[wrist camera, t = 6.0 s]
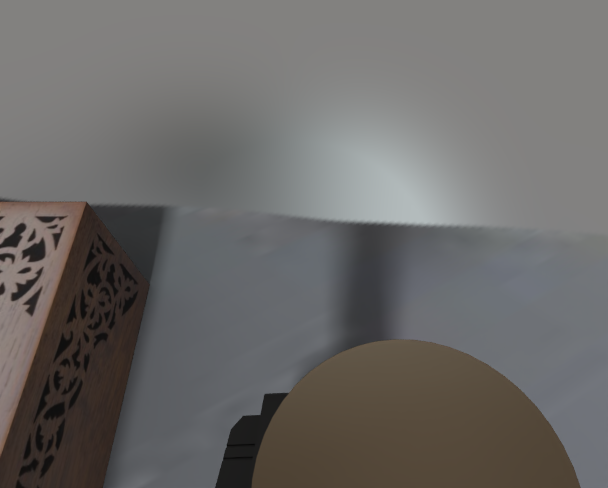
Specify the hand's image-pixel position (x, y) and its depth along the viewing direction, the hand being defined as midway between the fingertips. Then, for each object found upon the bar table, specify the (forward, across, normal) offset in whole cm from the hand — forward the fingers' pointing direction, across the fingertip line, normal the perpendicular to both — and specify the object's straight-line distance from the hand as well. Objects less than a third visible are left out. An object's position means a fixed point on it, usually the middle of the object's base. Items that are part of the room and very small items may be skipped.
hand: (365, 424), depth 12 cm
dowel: (+5, 0, +7) cm, 9 cm away
